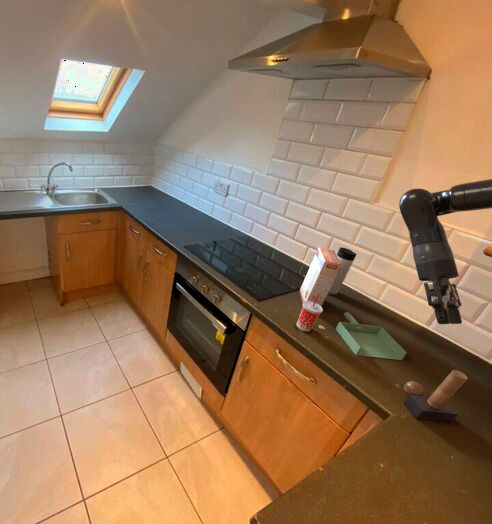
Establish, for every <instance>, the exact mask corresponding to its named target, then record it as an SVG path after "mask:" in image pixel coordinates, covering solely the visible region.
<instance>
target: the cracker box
mask: <svg viewBox="0 0 492 524" xmlns="http://www.w3.org/2000/svg"><path fill="white" fill-rule="evenodd" d="M341 266H342V265H341V263H340V261H339V259H338V257H337V253H336V251H335V249H334V250H333V249H331V248H325V247H321V246H318V248H317V250H316V252H315V254H314V257H313V259H312V261H311V263H310V266H309V268H308V270H307V273H306V275H305V277H304V280H303V282H302V285H301V286H300V289H299V294H300V298H301V303H302V304H303V303H304V302H305V301H311V302H314V301H315V299H316V297H317V295H318V294H320V295H319V297H318V299H317V301H316V303H317V304H319V305H320V306H321V307H322V306H323V304H324V303H325V301H326V298H327V296H328V295H329V294H328V292H329V290H330V288H331V286H332V284H333V282H334V280H335V278H336V276H337V274H338V272H339V270H340V268H341Z"/></svg>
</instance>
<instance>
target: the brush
mask: <svg viewBox="0 0 492 524" xmlns="http://www.w3.org/2000/svg"><path fill="white" fill-rule="evenodd" d="M467 380H468V376H467V375H466V374H465V373H464V372H462V371H459V370H456V369H453V370H451V372H449V374H448V375H447V376H446V377H445V378H444V380H443V381H442V382H441V383H440V384H439V385H438V387H437V388H436V389H435V390H434V391H433V392H432V394H431V395H430V396H424V395H422V396H415V395H409V396H408V397H407V398H406V399H405V401H403V405H404V406H405V408H406V409H407V410H408V411H409V412H410V414H411V415H412V416H413V417H414V419H415V420H423V421H431V422H439V423H440V422H441V423H447V424H448V423H450V424H451V423H452V422H453V421H454V420H455V419H456V418H457V417H458V416H459V412H457V410H455V409H454V408H453V406H451V405H450V403H449V400H450V399H451V398H452V397H453V396H454V395H455V394H456V393H457V391H459V390H460V388H461V387H462V386H463V385H464V384H465V382H467Z"/></svg>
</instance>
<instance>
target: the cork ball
mask: <svg viewBox="0 0 492 524" xmlns="http://www.w3.org/2000/svg"><path fill="white" fill-rule="evenodd" d="M403 388H404V392H405V393H406V394H407V395H409V396H410V395H415V396H424V392H425V391H424V387H423V386H422V385H421V384H420V383H419V382H417V381H412V380H411V381H407V382H406V383H404V386H403Z"/></svg>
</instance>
